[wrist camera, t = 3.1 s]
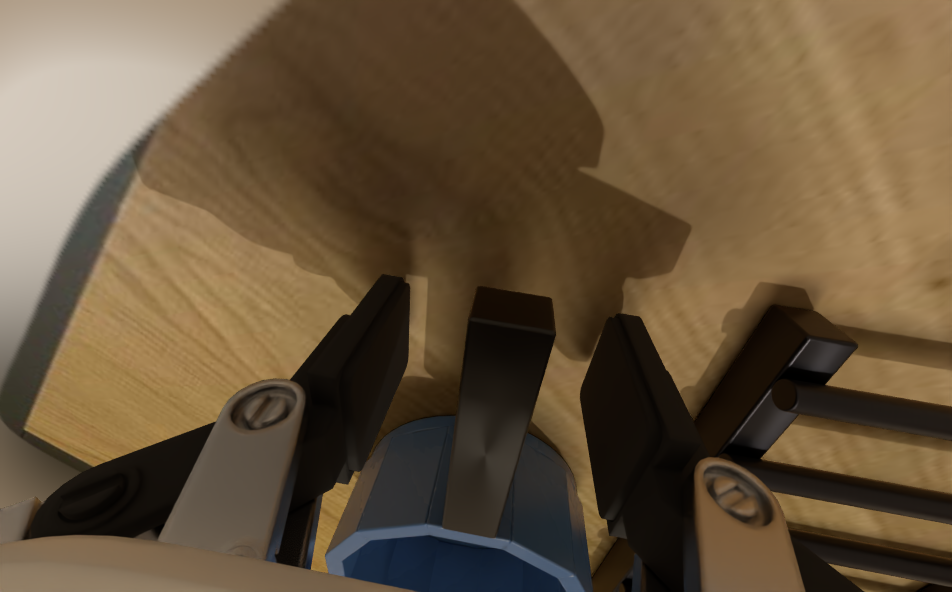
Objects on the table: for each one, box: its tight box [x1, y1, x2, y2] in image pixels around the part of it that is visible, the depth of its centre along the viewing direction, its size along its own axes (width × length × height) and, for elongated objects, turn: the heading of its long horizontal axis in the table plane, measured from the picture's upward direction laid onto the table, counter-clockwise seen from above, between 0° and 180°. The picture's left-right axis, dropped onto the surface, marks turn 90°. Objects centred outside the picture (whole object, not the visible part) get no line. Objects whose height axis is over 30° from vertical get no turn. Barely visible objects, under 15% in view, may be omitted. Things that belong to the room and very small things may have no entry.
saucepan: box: [325, 286, 593, 592], centre depth 12 cm, size 16×9×4 cm, turn 174°
